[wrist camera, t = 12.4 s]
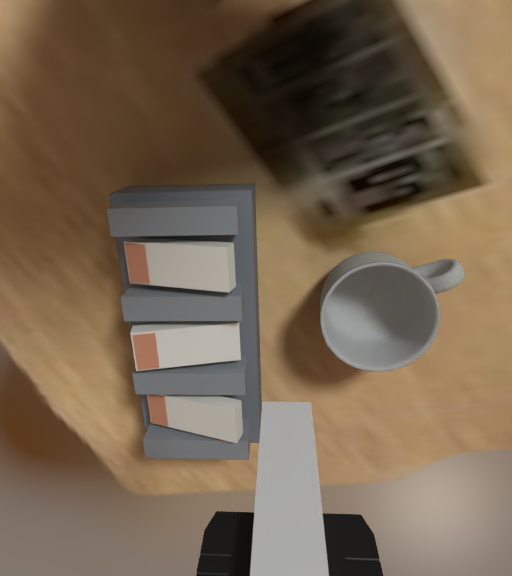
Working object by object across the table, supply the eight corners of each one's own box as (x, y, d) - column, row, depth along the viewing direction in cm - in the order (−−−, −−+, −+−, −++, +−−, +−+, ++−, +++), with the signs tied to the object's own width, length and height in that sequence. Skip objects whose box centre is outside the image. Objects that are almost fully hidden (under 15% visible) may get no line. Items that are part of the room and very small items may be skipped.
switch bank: (126, 186, 43) (90, 199, 35) (254, 183, 42) (248, 195, 34) (157, 413, 52) (135, 463, 45) (261, 414, 52) (258, 466, 44)
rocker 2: (132, 325, 40) (130, 333, 38) (237, 316, 41) (239, 323, 39) (137, 362, 41) (135, 371, 39) (239, 351, 42) (241, 360, 41)
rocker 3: (154, 382, 45) (145, 392, 43) (241, 400, 41) (234, 410, 40) (159, 413, 46) (150, 423, 44) (243, 432, 43) (236, 444, 41)
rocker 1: (133, 237, 39) (122, 241, 37) (233, 242, 36) (226, 247, 34) (139, 277, 40) (128, 283, 39) (235, 286, 37) (228, 293, 36)
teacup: (332, 346, 48) (342, 386, 40) (299, 262, 45) (303, 289, 37) (455, 306, 45) (489, 341, 38) (429, 214, 42) (462, 232, 34)
